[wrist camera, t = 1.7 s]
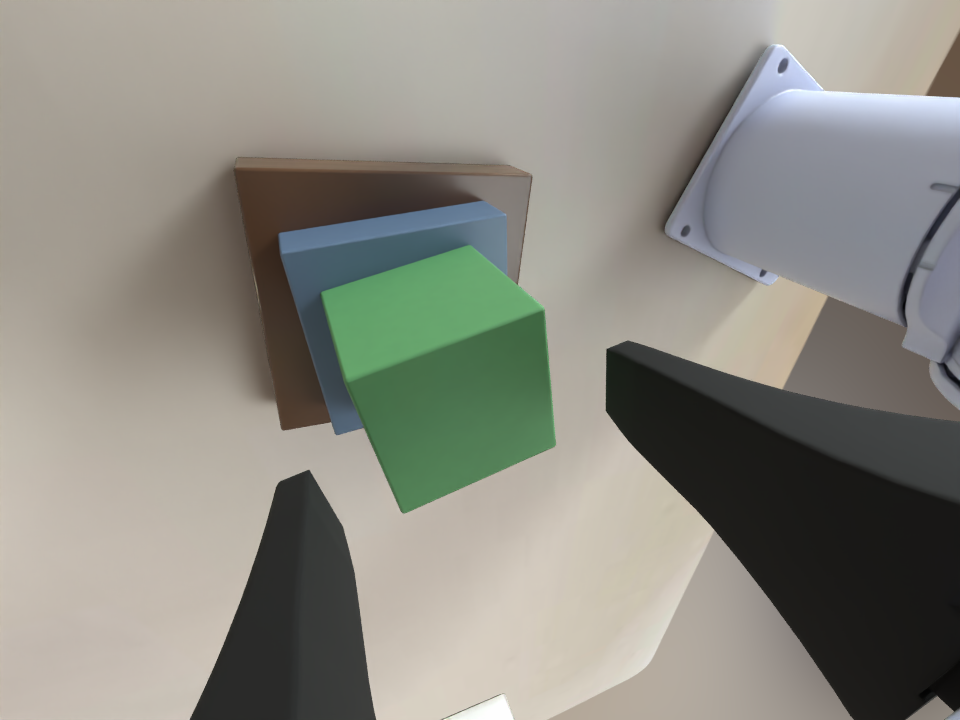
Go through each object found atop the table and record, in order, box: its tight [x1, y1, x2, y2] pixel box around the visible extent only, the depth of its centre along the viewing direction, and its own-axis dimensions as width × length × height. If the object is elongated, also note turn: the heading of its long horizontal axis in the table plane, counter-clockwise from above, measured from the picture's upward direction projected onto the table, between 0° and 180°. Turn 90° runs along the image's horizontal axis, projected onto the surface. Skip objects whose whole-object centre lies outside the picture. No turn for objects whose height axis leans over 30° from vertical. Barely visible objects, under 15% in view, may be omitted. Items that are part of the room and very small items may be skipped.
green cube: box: [320, 245, 556, 513], centre depth 13 cm, size 5×5×5 cm
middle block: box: [278, 201, 507, 435], centre depth 15 cm, size 6×6×2 cm
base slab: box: [234, 157, 532, 430], centre depth 17 cm, size 9×9×2 cm
